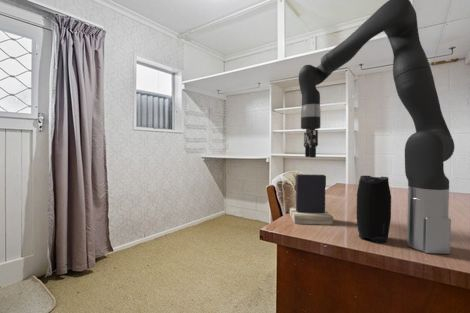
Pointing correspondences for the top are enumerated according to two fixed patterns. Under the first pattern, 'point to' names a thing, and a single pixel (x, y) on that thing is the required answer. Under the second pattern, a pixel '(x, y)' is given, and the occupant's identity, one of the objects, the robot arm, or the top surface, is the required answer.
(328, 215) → the birch plinth
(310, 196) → the black rectangular block
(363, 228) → the portable speaker
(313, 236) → the top surface
